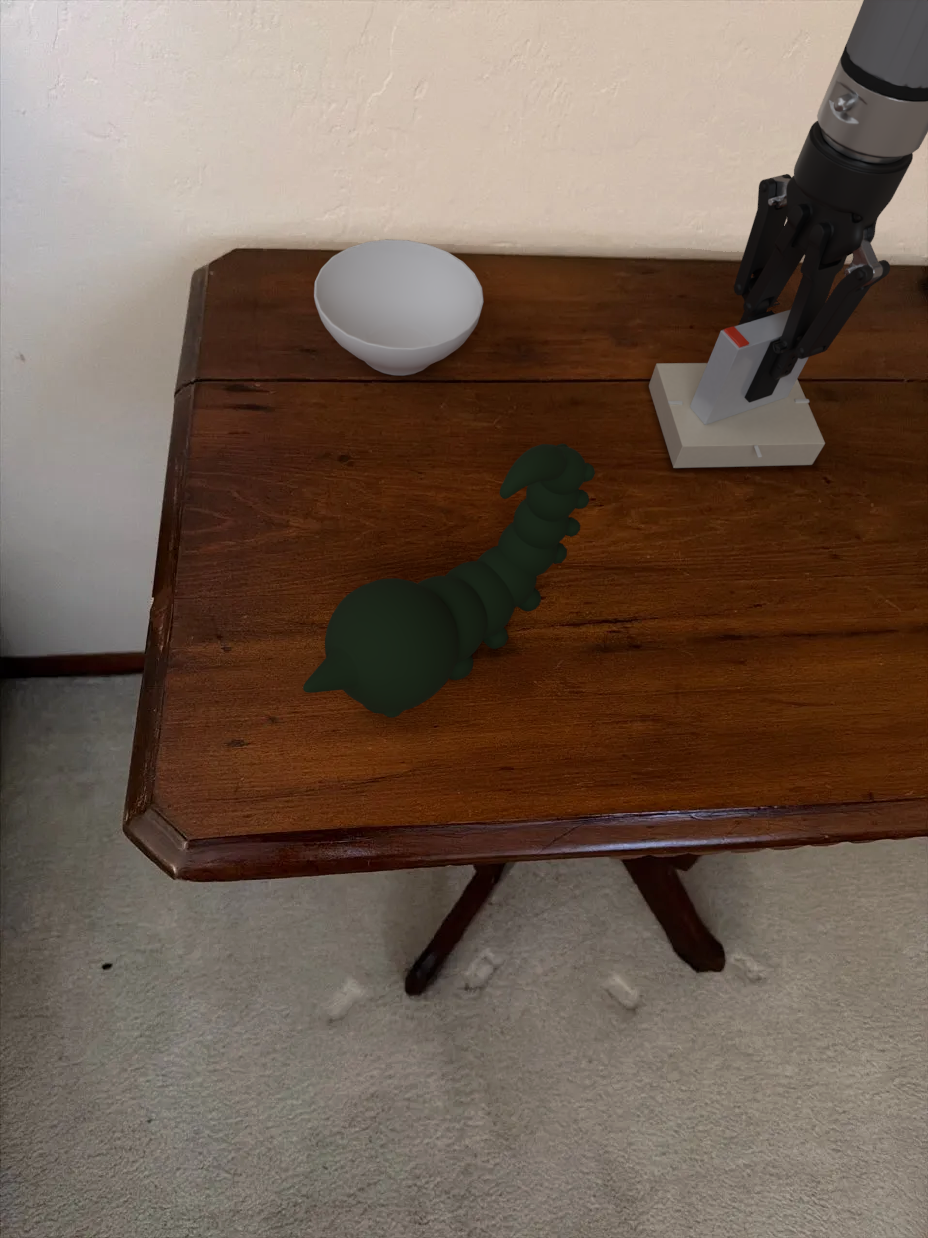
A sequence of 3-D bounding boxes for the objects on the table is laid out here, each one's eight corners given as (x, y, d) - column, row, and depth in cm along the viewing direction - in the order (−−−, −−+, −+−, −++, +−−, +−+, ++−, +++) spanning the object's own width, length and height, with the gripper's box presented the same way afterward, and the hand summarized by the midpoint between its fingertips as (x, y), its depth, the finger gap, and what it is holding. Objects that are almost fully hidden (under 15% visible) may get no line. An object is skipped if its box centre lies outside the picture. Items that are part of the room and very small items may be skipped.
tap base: (775, 373, 92) (787, 349, 89) (818, 477, 84) (832, 454, 82) (643, 374, 90) (652, 350, 87) (676, 481, 83) (686, 458, 80)
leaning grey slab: (771, 379, 87) (810, 301, 79) (787, 397, 86) (829, 319, 78) (689, 406, 84) (721, 327, 76) (705, 425, 82) (739, 347, 75)
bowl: (309, 302, 91) (305, 242, 86) (460, 294, 94) (465, 235, 88) (327, 413, 83) (323, 354, 77) (491, 400, 86) (499, 343, 80)
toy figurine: (497, 552, 78) (264, 704, 66) (545, 383, 63) (254, 540, 51) (573, 621, 75) (343, 794, 63) (643, 461, 60) (358, 647, 48)
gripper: (757, 88, 65) (668, 341, 85) (900, 208, 58) (767, 453, 78) (834, 72, 68) (729, 322, 87) (980, 186, 61) (831, 429, 80)
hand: (747, 383), depth 83 cm, fingers closed on leaning grey slab, 3 cm apart
